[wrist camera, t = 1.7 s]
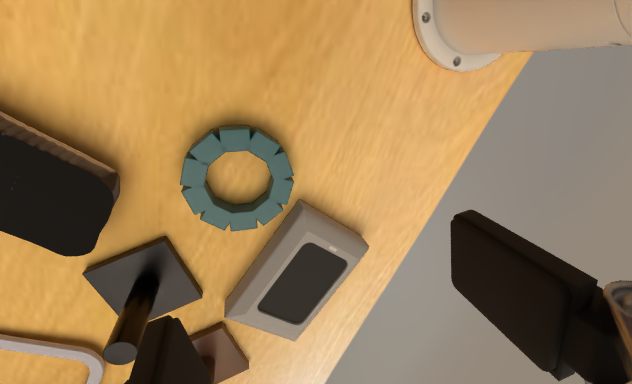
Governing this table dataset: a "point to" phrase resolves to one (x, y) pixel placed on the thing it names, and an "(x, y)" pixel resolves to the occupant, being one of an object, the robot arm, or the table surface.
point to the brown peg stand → (219, 353)
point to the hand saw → (57, 353)
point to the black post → (141, 292)
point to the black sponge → (52, 190)
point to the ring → (220, 210)
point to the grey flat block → (295, 273)
